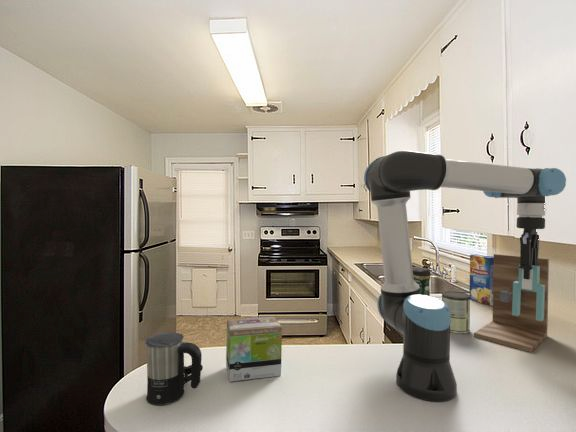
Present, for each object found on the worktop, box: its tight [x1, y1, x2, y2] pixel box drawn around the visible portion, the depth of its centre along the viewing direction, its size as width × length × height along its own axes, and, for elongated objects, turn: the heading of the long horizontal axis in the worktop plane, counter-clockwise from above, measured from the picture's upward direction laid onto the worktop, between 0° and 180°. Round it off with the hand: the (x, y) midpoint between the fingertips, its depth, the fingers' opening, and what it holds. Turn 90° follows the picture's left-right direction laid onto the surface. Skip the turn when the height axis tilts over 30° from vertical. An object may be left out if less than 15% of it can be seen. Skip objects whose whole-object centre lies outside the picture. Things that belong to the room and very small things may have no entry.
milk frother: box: [144, 332, 204, 406], centre depth 89 cm, size 14×16×15 cm
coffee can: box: [441, 290, 471, 335], centre depth 133 cm, size 10×10×14 cm
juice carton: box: [468, 253, 494, 306], centre depth 173 cm, size 12×8×24 cm, turn 21°
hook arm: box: [500, 288, 522, 303], centre depth 125 cm, size 18×2×4 cm, turn 131°
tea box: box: [225, 316, 283, 383], centre depth 97 cm, size 15×10×15 cm, turn 105°
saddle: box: [512, 265, 545, 321], centre depth 109 cm, size 3×8×17 cm, turn 41°
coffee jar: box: [412, 266, 431, 297], centre depth 168 cm, size 10×8×19 cm
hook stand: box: [473, 253, 550, 353], centre depth 125 cm, size 22×18×30 cm
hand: (528, 288), depth 108 cm, fingers closed on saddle, 3 cm apart
